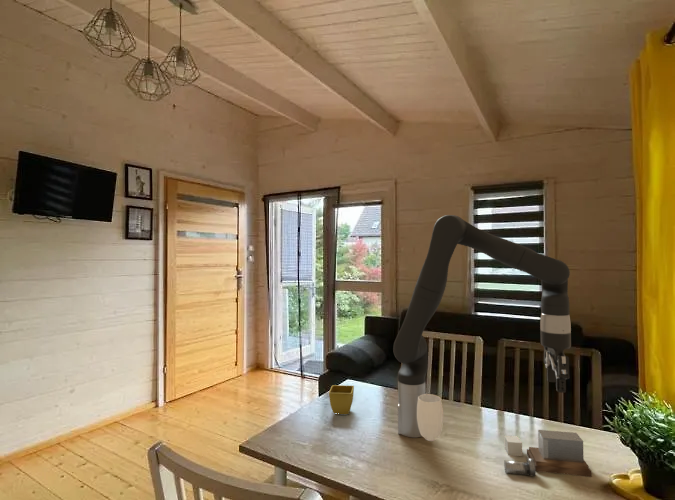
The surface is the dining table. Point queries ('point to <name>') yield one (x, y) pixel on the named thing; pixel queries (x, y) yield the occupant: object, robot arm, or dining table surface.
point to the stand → (557, 465)
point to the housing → (560, 446)
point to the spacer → (513, 445)
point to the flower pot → (341, 398)
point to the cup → (430, 416)
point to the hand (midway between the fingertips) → (556, 386)
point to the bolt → (520, 467)
